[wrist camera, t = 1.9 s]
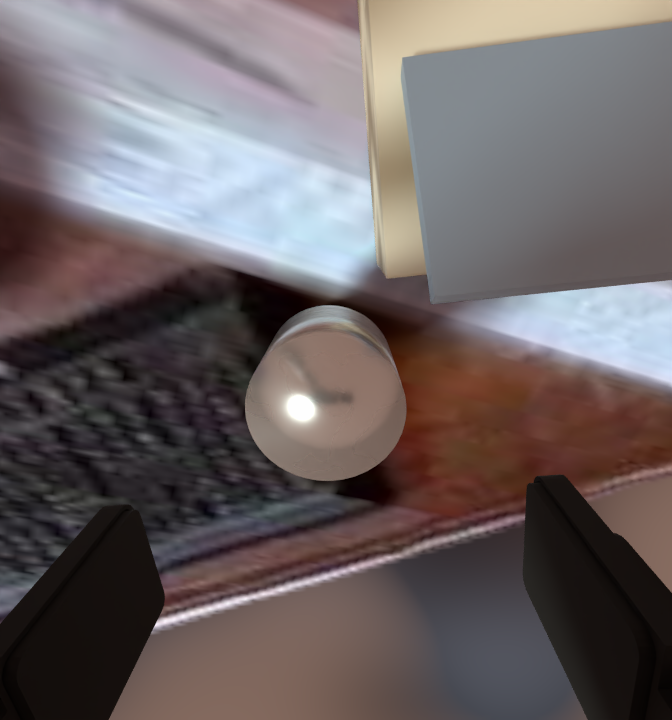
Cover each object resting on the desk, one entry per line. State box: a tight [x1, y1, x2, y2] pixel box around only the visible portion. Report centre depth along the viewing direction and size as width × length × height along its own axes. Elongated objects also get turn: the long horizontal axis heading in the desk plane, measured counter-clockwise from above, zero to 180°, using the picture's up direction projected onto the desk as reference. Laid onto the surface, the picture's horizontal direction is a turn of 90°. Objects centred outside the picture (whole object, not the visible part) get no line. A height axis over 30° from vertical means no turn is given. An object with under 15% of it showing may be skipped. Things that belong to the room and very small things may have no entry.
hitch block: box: [357, 0, 672, 279], centre depth 18 cm, size 18×14×6 cm
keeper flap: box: [401, 21, 672, 304], centre depth 14 cm, size 9×12×1 cm
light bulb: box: [245, 305, 406, 481], centre depth 20 cm, size 6×6×10 cm
